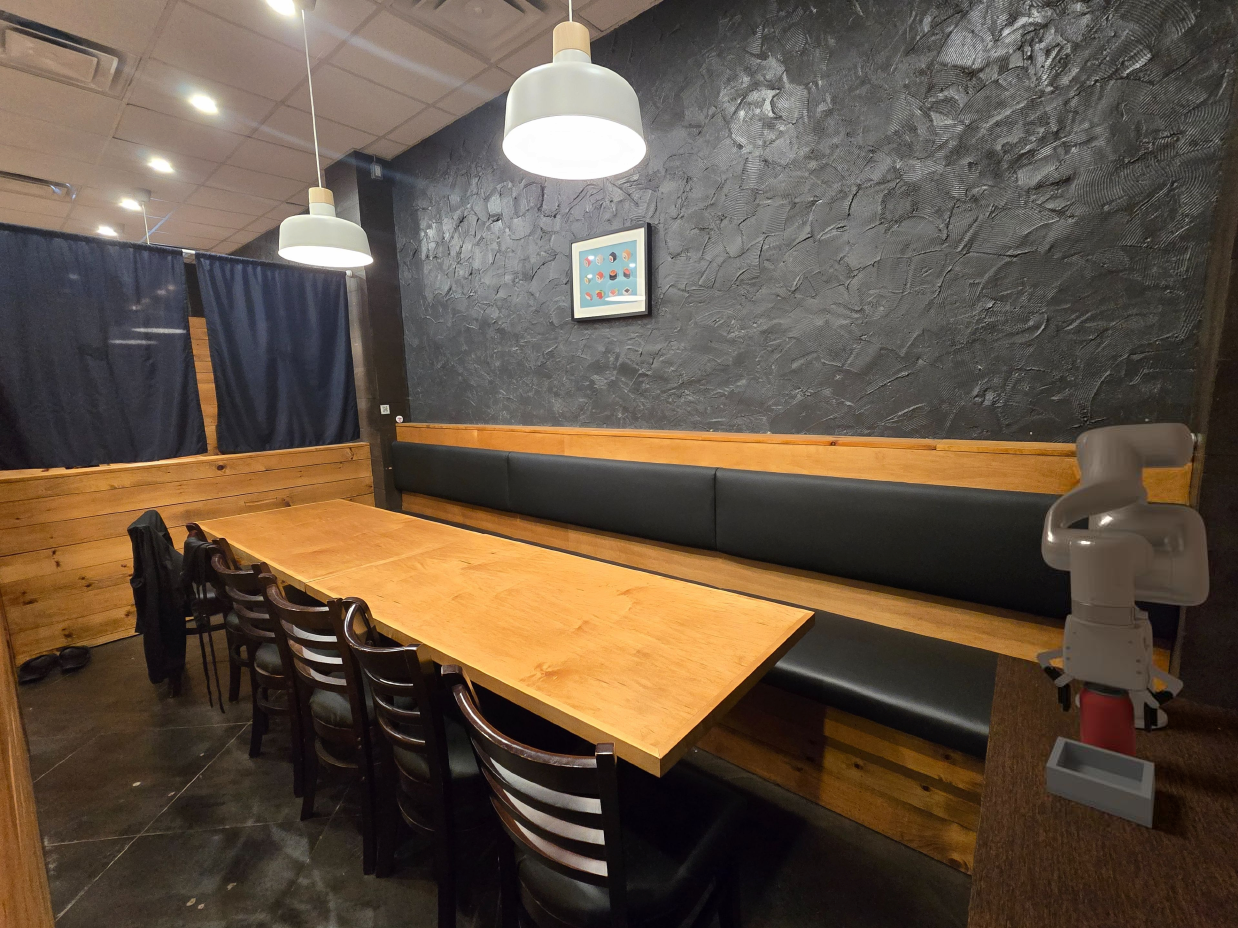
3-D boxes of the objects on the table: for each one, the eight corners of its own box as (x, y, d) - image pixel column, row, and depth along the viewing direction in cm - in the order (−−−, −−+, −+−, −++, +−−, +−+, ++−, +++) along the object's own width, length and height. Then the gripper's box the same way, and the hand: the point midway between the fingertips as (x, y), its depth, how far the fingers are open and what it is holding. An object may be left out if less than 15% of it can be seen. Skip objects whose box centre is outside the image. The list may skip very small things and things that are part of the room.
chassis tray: (1059, 760, 86) (1058, 736, 86) (1155, 789, 78) (1154, 762, 77) (1047, 791, 78) (1046, 765, 78) (1151, 828, 70) (1150, 798, 70)
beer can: (1148, 774, 81) (1145, 697, 81) (1098, 771, 82) (1096, 696, 82) (1116, 750, 88) (1114, 679, 87) (1071, 747, 89) (1069, 678, 89)
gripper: (1181, 618, 80) (1184, 729, 80) (1039, 599, 93) (1042, 695, 93) (1180, 629, 75) (1184, 747, 75) (1030, 607, 88) (1033, 709, 88)
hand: (1105, 718), depth 84 cm, fingers open, 9 cm apart
